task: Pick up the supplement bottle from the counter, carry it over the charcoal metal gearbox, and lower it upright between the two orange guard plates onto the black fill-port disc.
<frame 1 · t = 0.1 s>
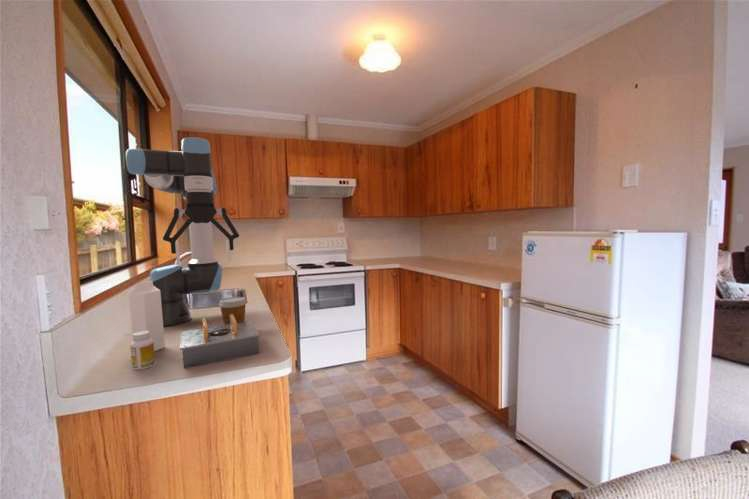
hand: (204, 262, 102), 28 cm above the worktop, tool pointing down, fingers open, 13 cm apart
gearbox: (221, 351, 105), on the worktop
milk: (149, 350, 109), on the worktop
disposable coffee cup: (234, 331, 126), on the worktop
supplement bottle: (144, 367, 96), on the worktop
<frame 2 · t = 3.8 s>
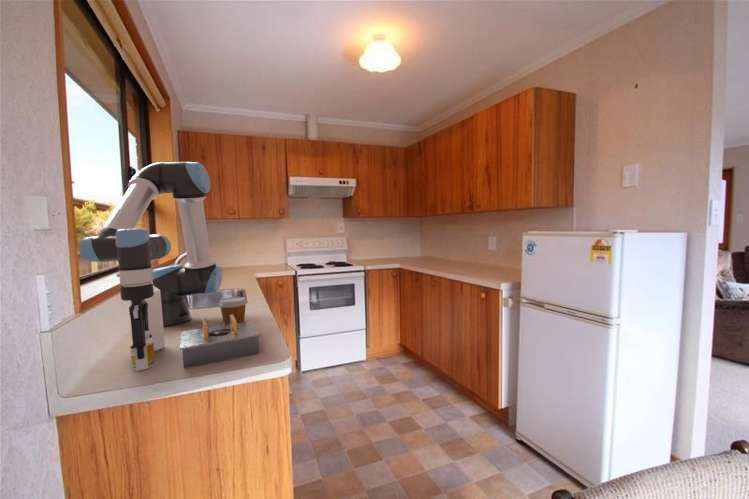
hand: (143, 365, 96), 0 cm above the worktop, tool pointing down, fingers closed on supplement bottle, 5 cm apart
supplement bottle: (144, 367, 96), on the worktop, touching gripper
everything else where it was.
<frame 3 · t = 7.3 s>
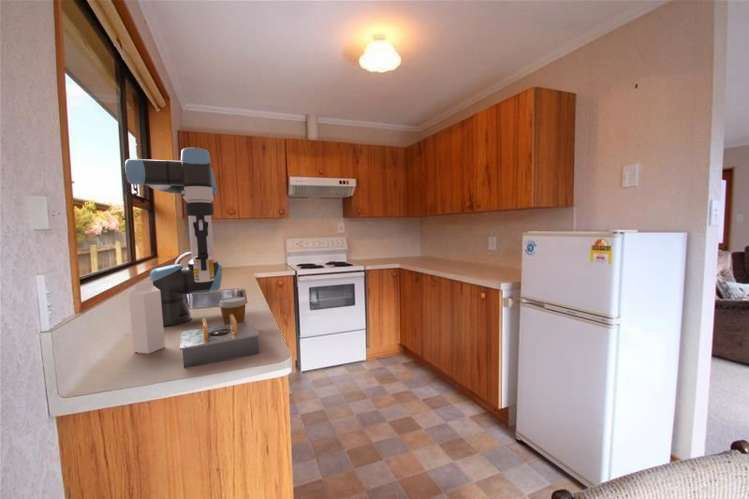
hand: (204, 279, 102), 23 cm above the worktop, tool pointing down, fingers closed on supplement bottle, 5 cm apart
supplement bottle: (204, 281, 102), point 22 cm above the worktop, touching gripper
everything else where it was.
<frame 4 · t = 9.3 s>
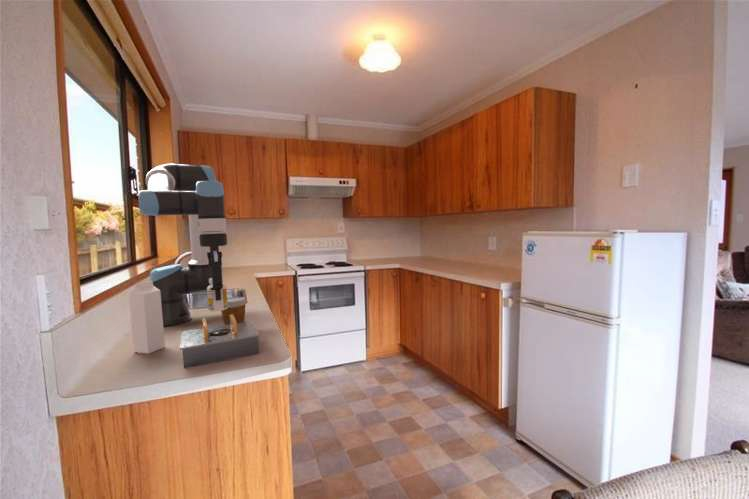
hand: (218, 308, 104), 14 cm above the worktop, tool pointing down, fingers closed on supplement bottle, 5 cm apart
supplement bottle: (218, 310, 104), point 13 cm above the worktop, touching gripper
everything else where it was.
when the fingers open (8 cm above the worktop, at t = 11.1 s): supplement bottle drops 1 cm, resting on gearbox.
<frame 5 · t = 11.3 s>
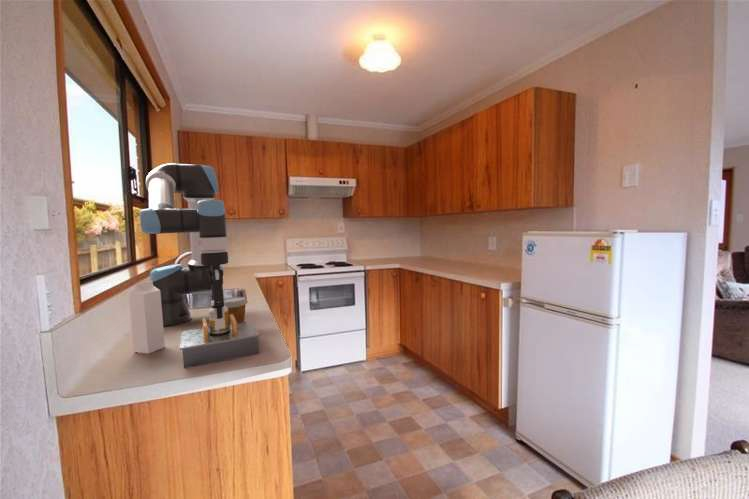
hand: (219, 324, 105), 8 cm above the worktop, tool pointing down, fingers open, 8 cm apart
supplement bottle: (219, 332, 105), point 6 cm above the worktop, touching gearbox
everything else where it was.
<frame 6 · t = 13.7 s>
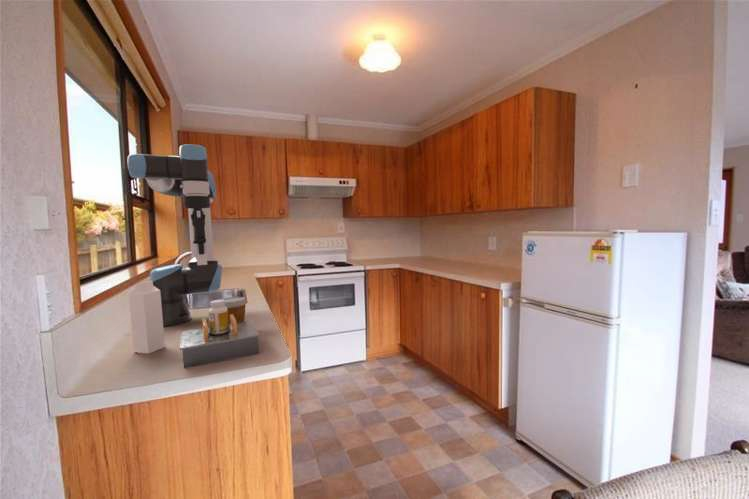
hand: (201, 262, 109), 27 cm above the worktop, tool pointing down, fingers open, 13 cm apart
nothing on the worktop moved.
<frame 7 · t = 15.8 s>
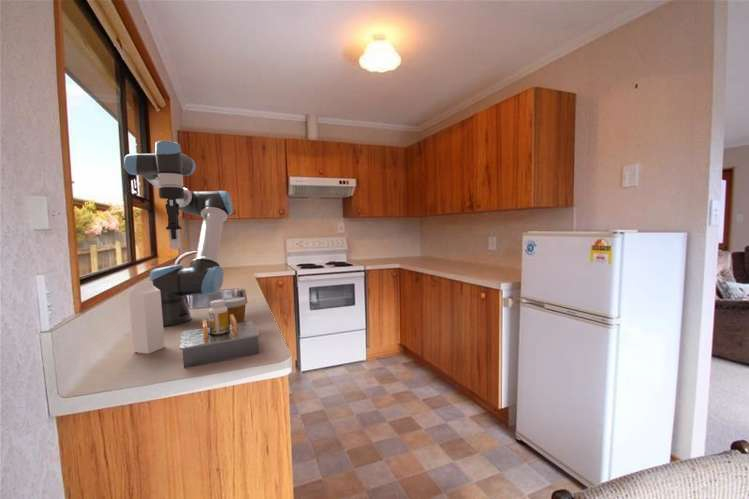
hand: (175, 248, 120), 32 cm above the worktop, tool pointing down, fingers open, 13 cm apart
nothing on the worktop moved.
at the end: supplement bottle 0.0 cm off-centre on the gearbox, point 6.1 cm above the gearbox's base; supplement bottle tilted 0°; the gripper is holding nothing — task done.
